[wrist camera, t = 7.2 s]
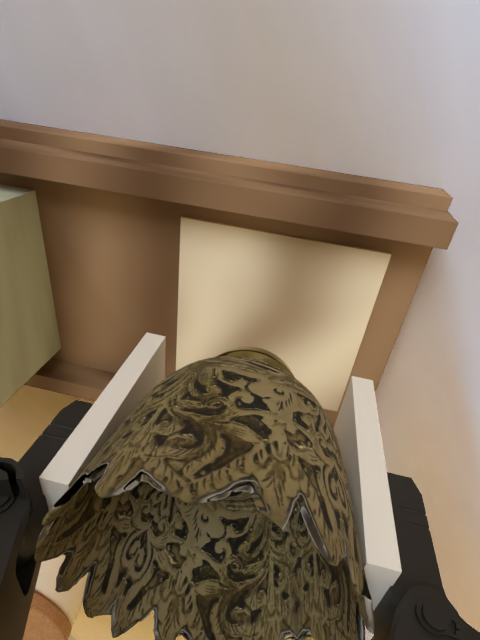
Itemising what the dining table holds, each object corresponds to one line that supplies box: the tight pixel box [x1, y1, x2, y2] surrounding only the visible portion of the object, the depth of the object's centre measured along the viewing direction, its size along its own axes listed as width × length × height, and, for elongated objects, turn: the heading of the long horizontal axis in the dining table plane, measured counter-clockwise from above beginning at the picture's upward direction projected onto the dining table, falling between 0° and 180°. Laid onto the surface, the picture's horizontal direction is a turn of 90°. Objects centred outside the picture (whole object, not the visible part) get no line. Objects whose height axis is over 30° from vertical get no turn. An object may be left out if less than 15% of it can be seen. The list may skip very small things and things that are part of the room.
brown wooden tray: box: [0, 120, 458, 430], centre depth 17 cm, size 24×14×8 cm, turn 83°
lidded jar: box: [23, 555, 88, 640], centre depth 32 cm, size 11×11×9 cm
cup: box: [34, 346, 374, 640], centre depth 12 cm, size 7×7×8 cm
